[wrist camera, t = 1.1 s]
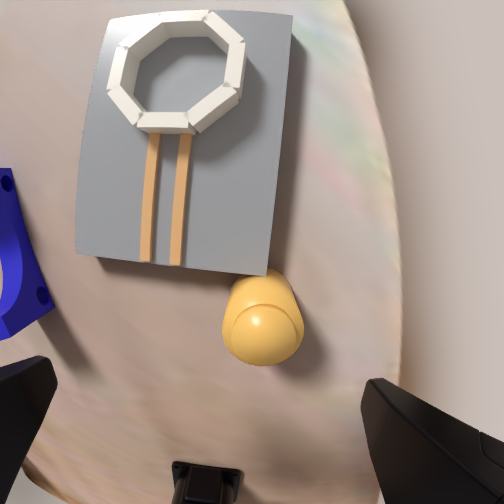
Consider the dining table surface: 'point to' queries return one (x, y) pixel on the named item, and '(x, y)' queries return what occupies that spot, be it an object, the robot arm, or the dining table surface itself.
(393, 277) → the dining table surface
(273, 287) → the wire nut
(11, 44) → the dining table surface
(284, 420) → the dining table surface
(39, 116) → the dining table surface
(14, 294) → the cable clip
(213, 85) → the plate
